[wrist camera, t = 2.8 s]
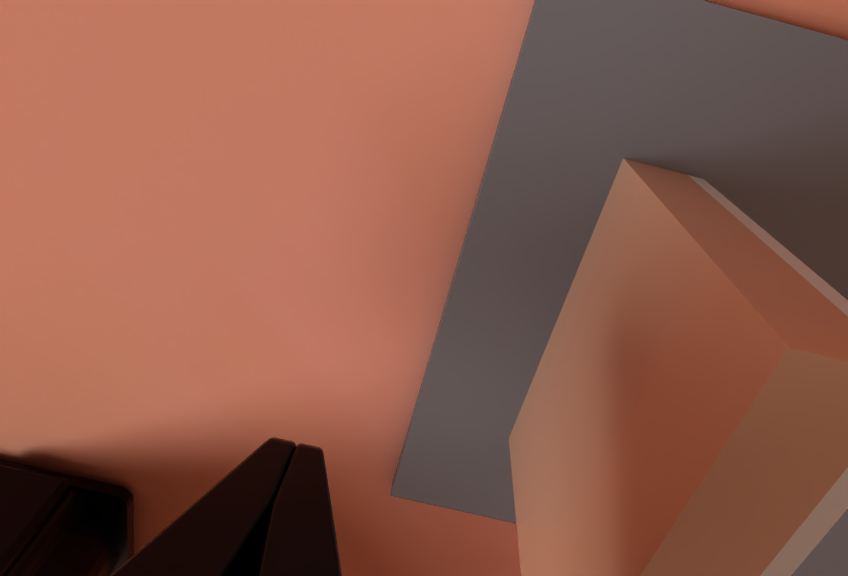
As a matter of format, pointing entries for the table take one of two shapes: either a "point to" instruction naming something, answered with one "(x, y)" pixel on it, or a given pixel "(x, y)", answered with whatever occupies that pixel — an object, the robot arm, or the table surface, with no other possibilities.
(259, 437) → the table surface
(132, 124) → the table surface
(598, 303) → the tile
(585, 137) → the mat
